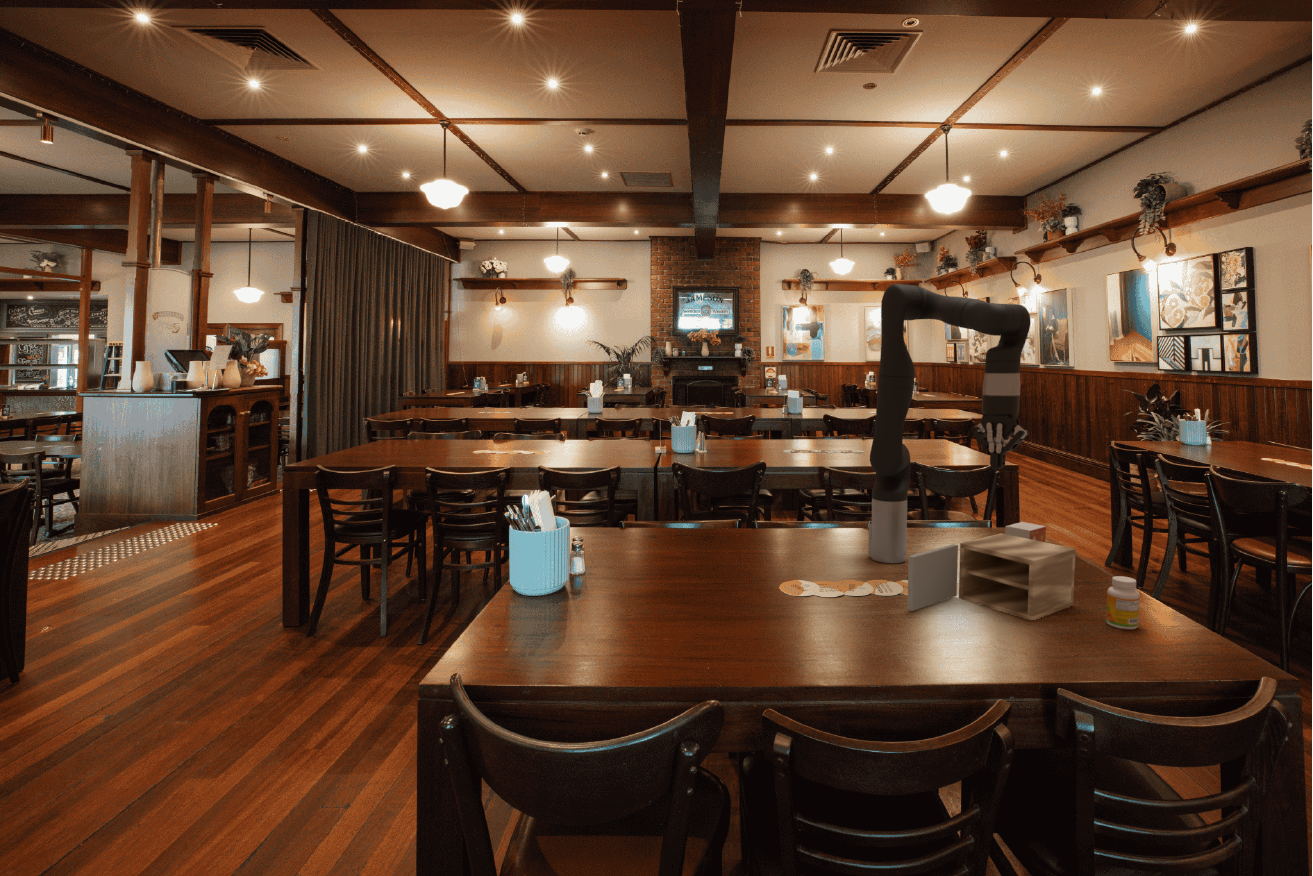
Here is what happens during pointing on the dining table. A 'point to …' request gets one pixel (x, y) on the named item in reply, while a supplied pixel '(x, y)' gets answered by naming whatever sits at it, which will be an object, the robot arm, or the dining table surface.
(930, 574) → the door
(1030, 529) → the small box
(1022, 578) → the cabinet
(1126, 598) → the supplement bottle
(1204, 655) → the dining table surface
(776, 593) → the dining table surface
